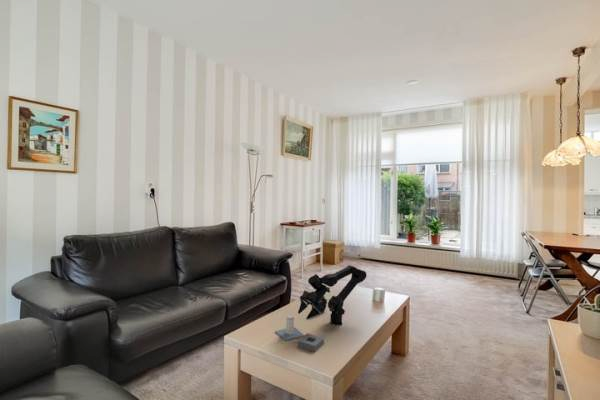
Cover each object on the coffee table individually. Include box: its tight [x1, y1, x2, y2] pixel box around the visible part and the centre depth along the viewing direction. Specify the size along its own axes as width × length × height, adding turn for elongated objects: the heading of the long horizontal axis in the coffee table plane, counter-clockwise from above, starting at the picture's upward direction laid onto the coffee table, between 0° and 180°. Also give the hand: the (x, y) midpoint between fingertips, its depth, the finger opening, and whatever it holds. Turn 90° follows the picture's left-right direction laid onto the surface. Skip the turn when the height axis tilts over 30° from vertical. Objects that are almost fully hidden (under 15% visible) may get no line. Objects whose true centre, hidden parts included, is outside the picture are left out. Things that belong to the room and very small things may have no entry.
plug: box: [285, 315, 295, 335], centre depth 166 cm, size 3×3×9 cm
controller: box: [319, 295, 328, 312], centre depth 198 cm, size 4×12×10 cm, turn 142°
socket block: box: [297, 332, 325, 353], centre depth 154 cm, size 10×10×3 cm
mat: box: [274, 326, 305, 342], centre depth 166 cm, size 12×12×1 cm
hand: (302, 316), depth 170 cm, fingers open, 9 cm apart
